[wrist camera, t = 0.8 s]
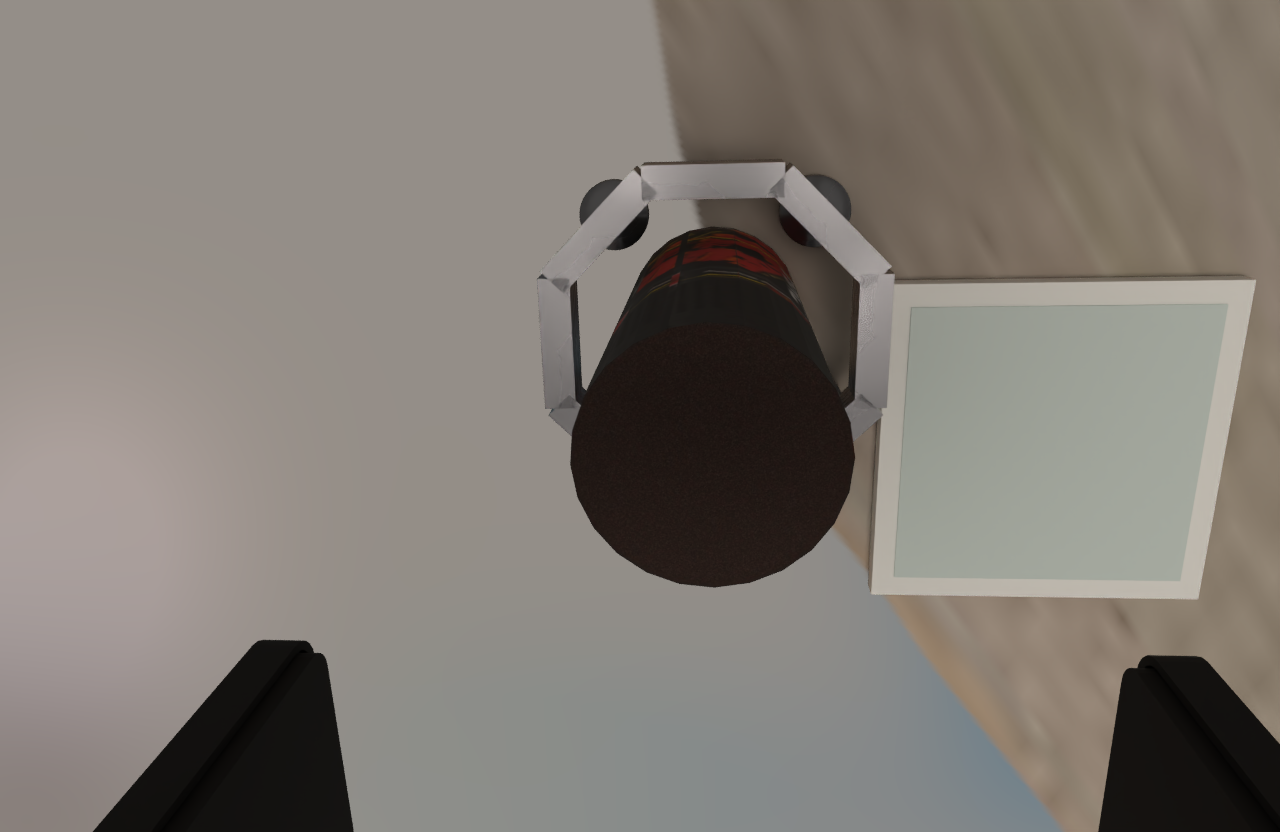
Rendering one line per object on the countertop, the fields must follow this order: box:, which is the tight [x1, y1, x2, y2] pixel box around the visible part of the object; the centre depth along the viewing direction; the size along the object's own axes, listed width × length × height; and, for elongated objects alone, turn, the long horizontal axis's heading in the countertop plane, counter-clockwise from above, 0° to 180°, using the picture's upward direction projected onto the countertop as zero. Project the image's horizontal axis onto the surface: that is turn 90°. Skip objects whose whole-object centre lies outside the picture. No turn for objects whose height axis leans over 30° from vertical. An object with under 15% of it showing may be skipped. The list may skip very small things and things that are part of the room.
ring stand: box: [537, 159, 895, 442], centre depth 31 cm, size 11×11×5 cm
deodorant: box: [570, 227, 855, 587], centre depth 27 cm, size 6×6×15 cm
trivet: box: [868, 276, 1256, 599], centre depth 34 cm, size 12×12×1 cm
